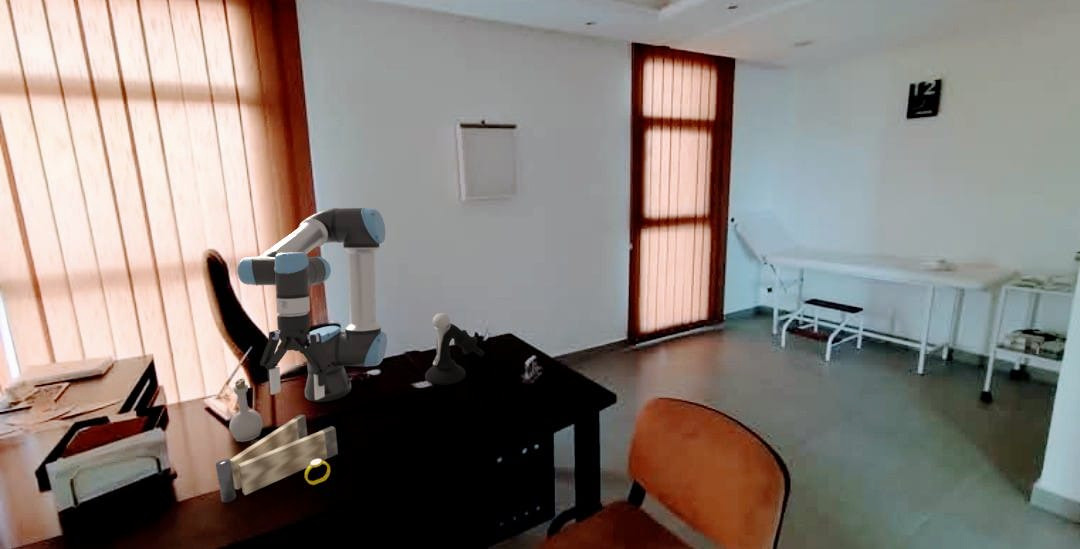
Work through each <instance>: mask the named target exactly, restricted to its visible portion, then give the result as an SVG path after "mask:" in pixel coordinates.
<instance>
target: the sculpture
mask: <svg viewBox="0 0 1080 549" xmlns="http://www.w3.org/2000/svg"><path fill="white" fill-rule="evenodd" d="M432 324H433V326H434V329H435V330H436V340H435V342H436V344H435V346H436V347H435V348H436V349H435V350H436V356H435V358H434V360H433V362H432V366H431V367H430V368H429V369H428V370H426V372H425V374H424V378H425V381H427V382H428V383H429V384H433V385H439V386H441V385H442V386H446V385H454V384H456V383H458V382H461V381H463V380H464V379H465V377H466V370H465V369H464V368H463V367H462V366H461V365H458V364H456V361H455V360H454V359H452V357H451V352H450V344H451V341H452V339H453V344H454V345H455V346H458V347H460V348H461V349H462V351H463V352H462V353H463V354H465V355H469V354H470V353H472V352H473V353H475V354H477V355H478V356H479V357H481V358H482V357H483V356H484V355H485V353H486V352H485V351H484V350H482V349H481V348H480V347H478V346H477V344H478V338H477V337H476V336H471V335H469V333H468V332H467V330H466V329H460V328H459V327H458V326H456V325H455V324H453V323H450V318H449V316H448V315H447V314H446V313H443V312H440V313H436V315H435V316H433V318H432Z"/></svg>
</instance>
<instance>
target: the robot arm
mask: <svg viewBox="0 0 1080 549" xmlns="http://www.w3.org/2000/svg"><path fill="white" fill-rule="evenodd" d="M385 240H386V226H385V222H384V218H383V217H382V214H381V213H380V211H379V210H377V209H375V208H366V207H362V208H361V207H360V208H359V207H358V208H357V207H352V208H351V207H349V208H343V207H342V208H339V207H336V208H335V207H333V208H328V209H324V210H321V211H318V212H316V213H314V214H311V215H310V216H309V217H307V218H305V219H304V220H303V221H301V222H300V224H299V225H298V228H297V229H295V230H294V231H293V232H292V233H290V234H289V235H287V236H286V237H284V238H283V239H281V240H280V241H278V243H276V244H275V245H273V246H272V247H270V248H269V249H267V250H266V251H265V252H263V253H262V254H261V255H259V256H250V257H248V256H247V257H246V256H245V257H243V258H242V259H241V260H240V261H239V262H238V265H237V270H236V271H237V276H238V278H239V281H240V282H241V283H242V284H244V285H249V286H275V291H276V292H275V293H276V294H275V296H276V313H277V314H278V315H277V317H276V322H277V329H275V330H272V331H269V332H268V341H267V343H266V346H265V349H264V351H263V354H262V356H261V359H260V363H259V364H260V366H261V367H264V368H265V369H266V370H267V380H268V381H269V390H270V391H269V392H270V395H275V394H278V393H280V392H281V391H282V388H281V369H280V368H281V367H280V366H279V363H280V362H281V360H282V359H283V357H285V355H286V353H287V351H295V352H299V353H300V354H302V355H303V356H304V357H305V359H306V365H307V374H308V375H307V378H306V379H307V380H306V383H305V387H304V397H305V398H306V399H307V400H308V401H311V402H316V403H323V402H331V401H335V400H338V399H341V398H343V397H345V396H347V395H348V394H349V393H350V392H351V390H352V383H351V380H350V378H349V376H348V374H347V372H346V369H345V367H374V366H375V367H376V366H378V365H380V364H381V363H382V361H383V359H384V357H385V355H386V351H387V347H388V336H387V333H386V332H384V331H382V326H381V325H380V324H379V323H378V322H377V301H376V300H377V294H376V293H377V292H376V288H377V287H376V285H377V284H376V253H377V251H378V250H379V249H380V244H382V243H384V242H385ZM327 243H342V244H343V246H342V247H343V249H344V250H345V251H346V252H347V254H348V295H349V298H348V299H349V323H348V324H347V326H345V327H344V328H345V331H342V329H341V327H340V326H338V325H329V326H323V327H319V328H317V329H313V330H312V331H310V328H311V314H310V313H309V312H310V311H311V305H310V304H311V303H310V301H311V300H310V287H313V286H318V285H321V284H323V283H324V282H326V281H327V280H328V279H329V278H330V276H331V272H332V270H331V269H332V268H331V265H330V263H329V262H328V261H327V260H326V259H325V258H323V257H320V256H309V257H308V253H310V252H311V251H312V250H314V249H315V248H317V247H321V246H323V245H324V244H327ZM280 341H281V342H280ZM279 342H280V343H279Z"/></svg>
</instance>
